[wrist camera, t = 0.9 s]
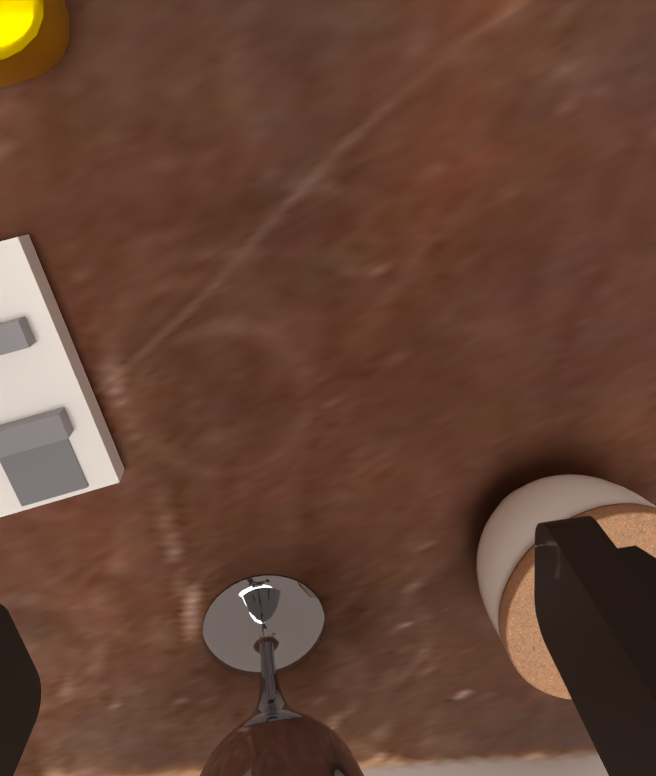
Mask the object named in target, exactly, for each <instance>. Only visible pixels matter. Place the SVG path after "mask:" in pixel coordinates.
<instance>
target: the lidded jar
mask: <svg viewBox="0 0 656 776" xmlns="http://www.w3.org/2000/svg"><path fill="white" fill-rule="evenodd" d="M581 516H591V517H593V518H594V519H595V520H596V521H597V522H598V523H599V525H600V526H601V527H602V529H603V530H604V531H605V533H606V534H607V535H608V537H609V538H610V539H611V541H612V542H613V543H614V545H615V546H616V547H617V548H622V547H629V546H638V547H639V548H641V549H642V550H644V551H645V552H647V553H649V554H650V555H652V556H653V557H655V558H656V506H655V505H653V504H652V503H650V502H649V501H647V500H646V499H644V498H642V497H641V496H639V495H638V494H636V493H634V492H632V491H630V490H628V489H626V488H624V487H622V486H619V485H617V484H614V483H612V482H609V481H606V480H604V479H601V478H596V477H591V476H585V475H576V474H564V475H556V476H549V477H545V478H541V479H537V480H535V481H533V482H530V483H528V484H526V485H524V486H522V487H520V488H518V489H516V490H515V491H513V492H512V493H510V494H509V495H508V496H506V497H505V498H504V499H503V500H502V501H501V502H500V504H499V505H498V506H497V508H496V509H495V511H494V512H493V513H492V514H491V516H490V518H489V519H488V521H487V523H486V525H485V527H484V529H483V532H482V535H481V538H480V541H479V546H478V550H477V564H476V565H477V579H478V585H479V589H480V593H481V597H482V600H483V603H484V606H485V608H486V611H487V613H488V616H489V618H490V621H491V623H492V624H493V626H494V628H495V630H496V632H497V634H498V635H499V637H500V639H501V640H502V643H503V646H504V649H505V651H506V653H507V655H508V657H509V658H510V660H511V662H512V663H513V665H514V667H515V668H516V670H517V671H518V673H519V674H520V675H521V676H522V677H523V678H524V679H525V680H526V681H527V682H528V683H530V684H531V685H533V686H534V687H535V688H537V689H539V690H541V691H543V692H545V693H547V694H550V695H553V696H557V697H561V698H565V699H572V698H571V696H570V694H569V692H568V690H567V688H566V686H565V684H564V682H563V680H562V678H561V676H560V673H559V671H558V669H557V667H556V665H555V663H554V661H553V659H552V657H551V655H550V653H549V651H548V649H547V647H546V644H545V642H544V640H543V637H542V634H541V631H540V628H539V625H538V621H537V616H536V611H535V602H534V576H535V529H536V526H537V524H538V523H542V522H548V521H555V520H561V519H568V518H575V517H581Z"/></svg>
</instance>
